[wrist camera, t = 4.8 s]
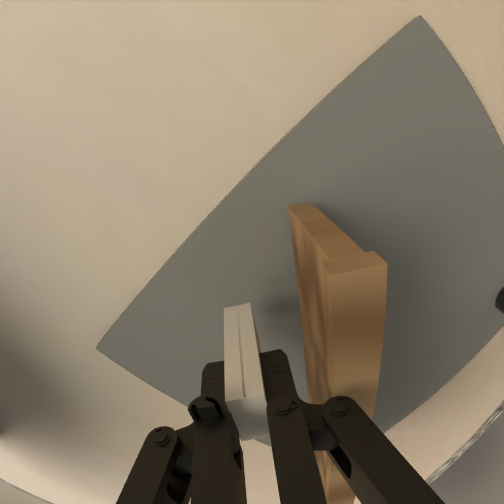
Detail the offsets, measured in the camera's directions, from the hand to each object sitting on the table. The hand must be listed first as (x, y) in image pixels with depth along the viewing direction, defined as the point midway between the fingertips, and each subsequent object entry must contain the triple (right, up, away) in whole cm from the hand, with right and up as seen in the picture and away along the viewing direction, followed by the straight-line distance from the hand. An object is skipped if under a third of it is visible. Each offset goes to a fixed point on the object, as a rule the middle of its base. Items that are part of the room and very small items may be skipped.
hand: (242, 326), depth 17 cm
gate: (+4, -3, +3) cm, 6 cm away
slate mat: (+10, 0, +4) cm, 10 cm away
